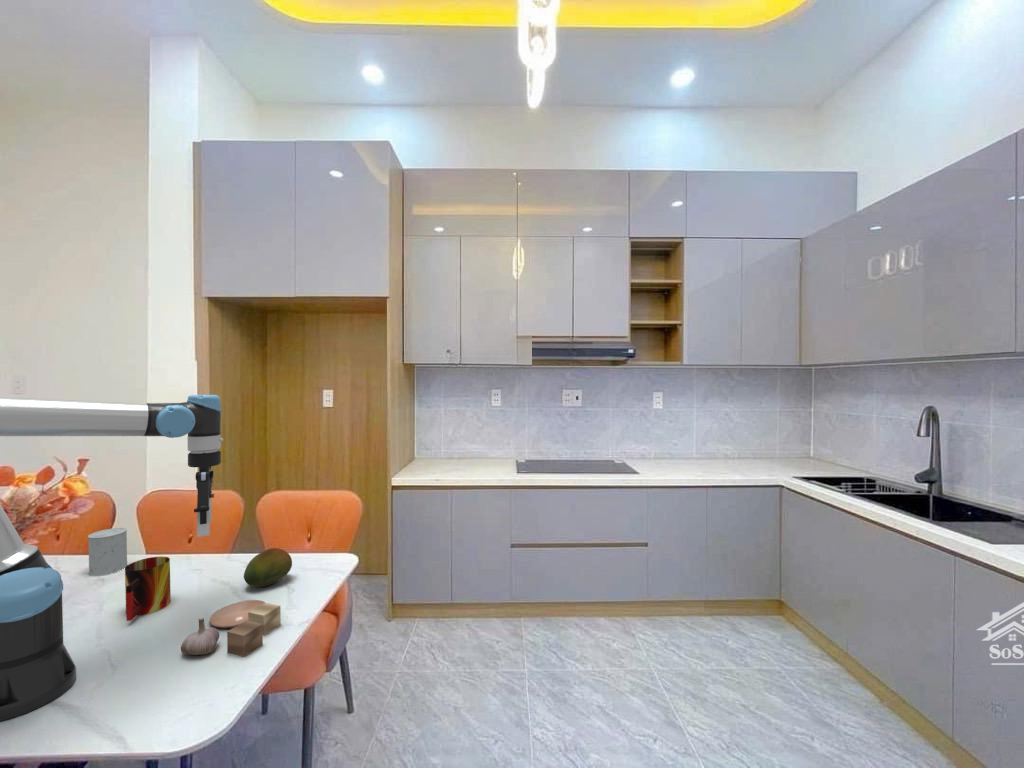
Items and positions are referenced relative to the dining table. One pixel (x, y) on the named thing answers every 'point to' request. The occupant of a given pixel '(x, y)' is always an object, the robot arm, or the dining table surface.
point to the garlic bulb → (201, 640)
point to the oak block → (266, 616)
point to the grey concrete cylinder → (107, 551)
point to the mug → (147, 586)
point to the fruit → (267, 567)
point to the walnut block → (244, 638)
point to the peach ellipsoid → (233, 614)
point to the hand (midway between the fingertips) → (204, 528)
